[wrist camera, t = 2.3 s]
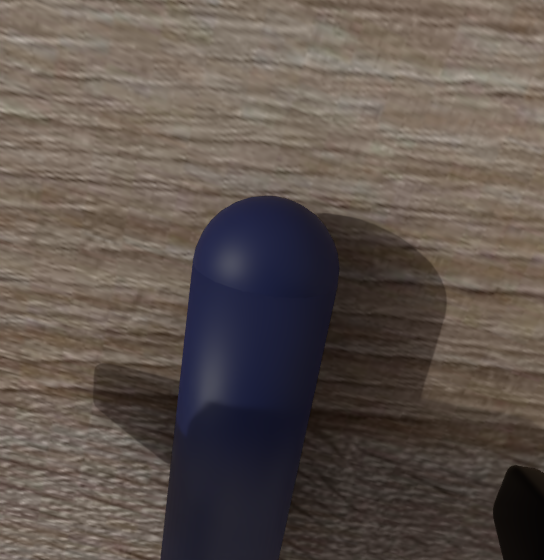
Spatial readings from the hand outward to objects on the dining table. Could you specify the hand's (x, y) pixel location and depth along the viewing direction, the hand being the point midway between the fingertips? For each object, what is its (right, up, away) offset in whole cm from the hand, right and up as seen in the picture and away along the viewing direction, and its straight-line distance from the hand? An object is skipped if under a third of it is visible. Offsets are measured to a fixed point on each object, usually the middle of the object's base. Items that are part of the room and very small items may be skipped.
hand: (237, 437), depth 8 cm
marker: (0, 0, +1) cm, 1 cm away
